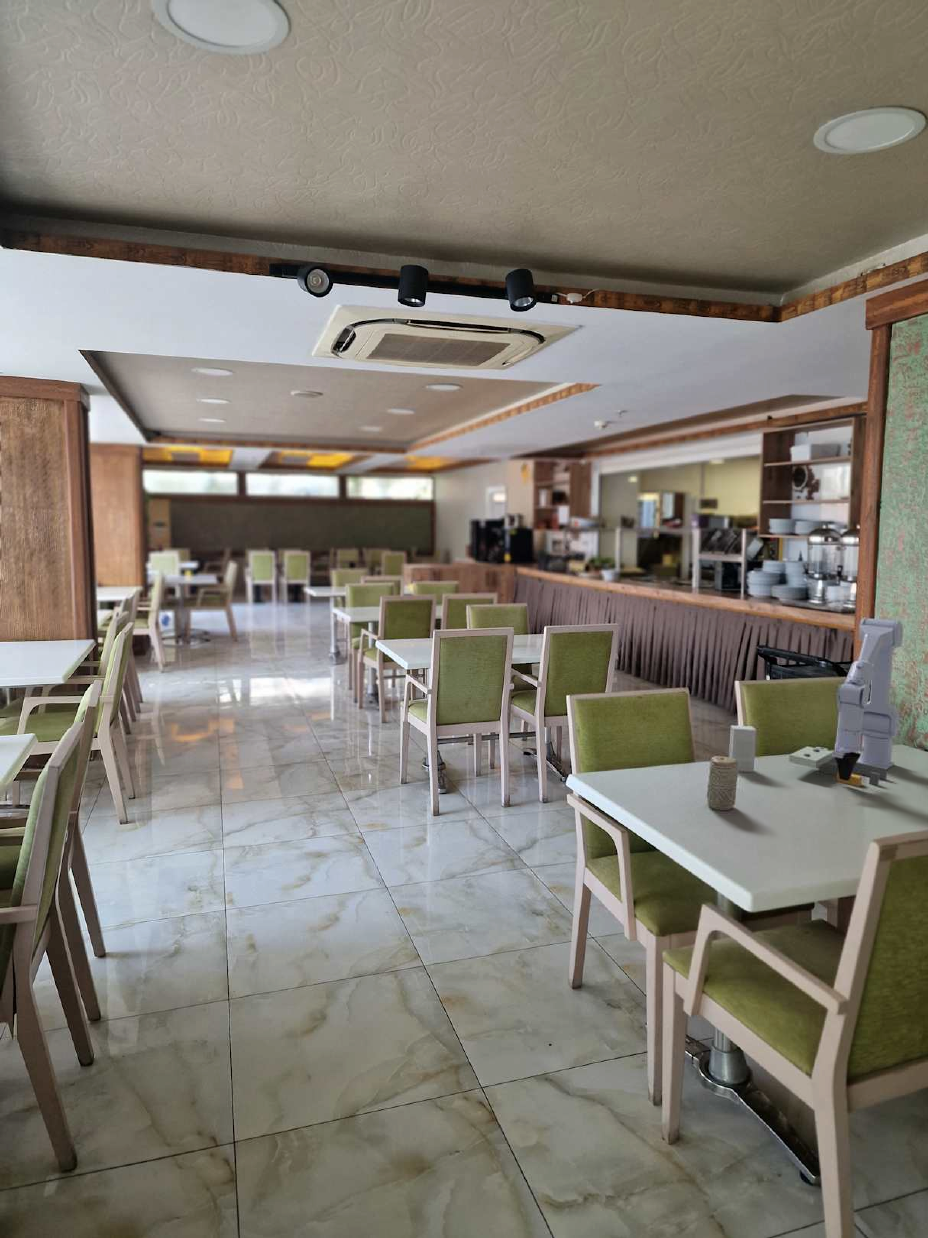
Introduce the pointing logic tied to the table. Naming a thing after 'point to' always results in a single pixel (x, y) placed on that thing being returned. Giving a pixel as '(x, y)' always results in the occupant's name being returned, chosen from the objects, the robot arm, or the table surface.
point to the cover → (811, 756)
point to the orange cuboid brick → (851, 780)
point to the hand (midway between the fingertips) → (844, 779)
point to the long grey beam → (857, 770)
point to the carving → (722, 783)
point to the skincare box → (743, 747)
